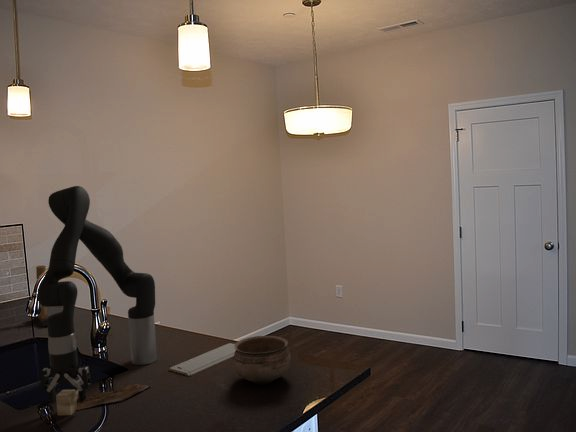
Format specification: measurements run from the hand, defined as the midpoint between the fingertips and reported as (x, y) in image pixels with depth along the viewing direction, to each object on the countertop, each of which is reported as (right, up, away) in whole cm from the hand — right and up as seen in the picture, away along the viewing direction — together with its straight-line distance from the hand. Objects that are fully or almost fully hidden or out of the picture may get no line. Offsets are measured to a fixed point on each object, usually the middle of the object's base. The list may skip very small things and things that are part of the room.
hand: (67, 402), depth 154 cm
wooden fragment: (+9, -2, +8) cm, 13 cm away
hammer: (-55, +2, +101) cm, 115 cm away
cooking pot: (+57, +1, +17) cm, 59 cm away
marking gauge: (0, -3, +4) cm, 5 cm away
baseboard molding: (+37, +1, +39) cm, 54 cm away
